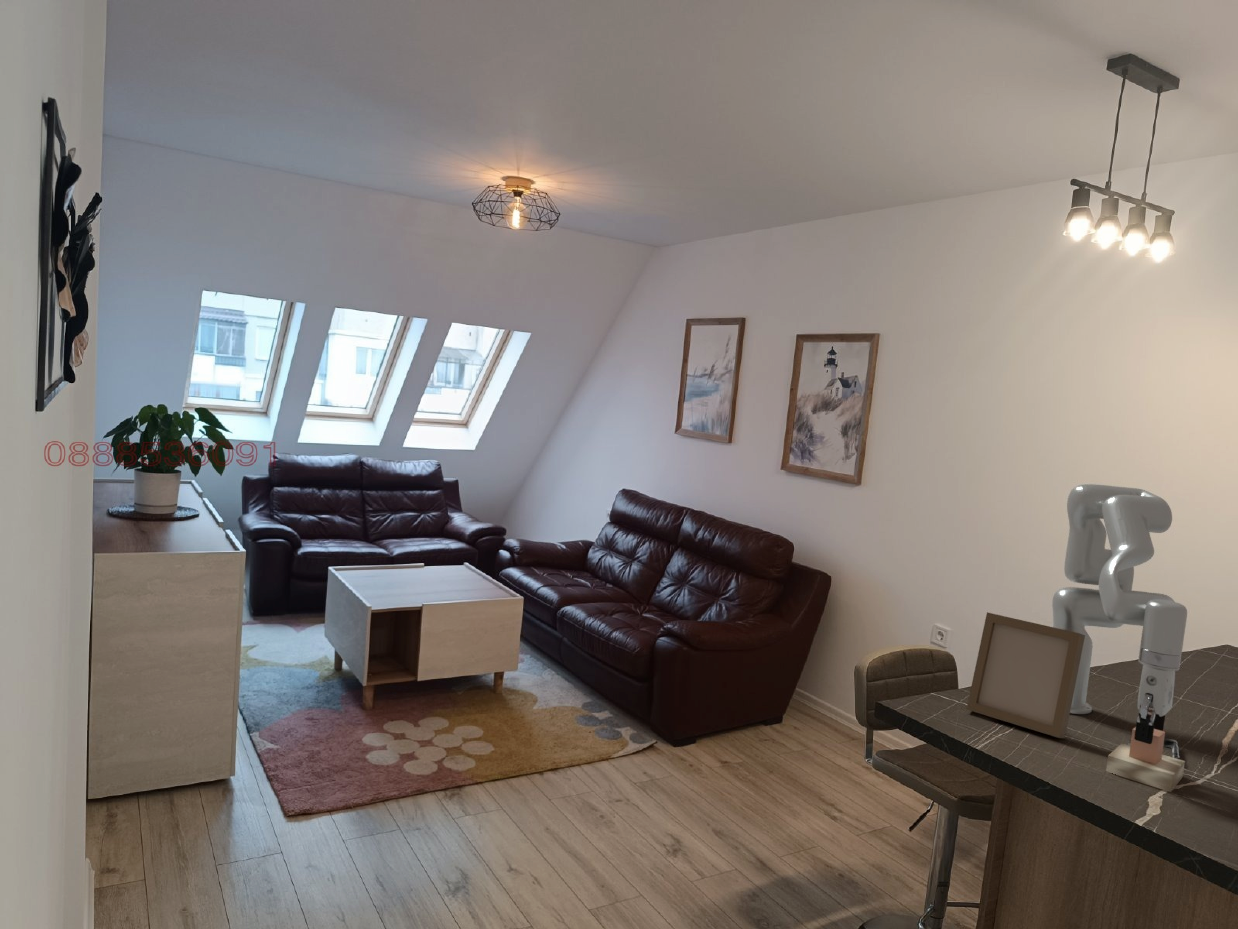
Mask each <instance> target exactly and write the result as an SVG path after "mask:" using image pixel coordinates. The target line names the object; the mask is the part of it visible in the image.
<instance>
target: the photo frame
mask: <svg viewBox="0 0 1238 929" xmlns="http://www.w3.org/2000/svg"><path fill="white" fill-rule="evenodd" d="M1084 639H1085V635H1083V634H1080V633H1076V632H1072V631H1067V630H1063V629H1058V628H1054V627H1053V626H1049V625H1045V624H1040V623H1037V622H1031V621H1027V620H1022V619H1017V618H1014V617H1010V616H1009V617H1008V616H1005V615H1000V614H996V613H991V612H986V615H985V620H984V624H983V629H982V634H981V638H980V645H979V647H978V648H979V649H978V653H977V657H976V663H975V668H974V672H973V677H972V682H971V686H970V691H969V696H968V700H967V706H966V710H968V711H970V712H974V713H977V714H980V715H984V716H987V717H990V718H992V719H993V718H994V719H996V720H1000V721H1002V722H1006V723H1008V724H1009V723H1010V724H1013V725H1016V726H1019V727H1022V728H1025V729H1029V730H1032V731H1035V732H1039V733H1042V734H1045V735H1049V736H1051V737H1054V738H1057V739H1066V734H1067V729H1068V724H1069V723H1068V722H1069V719H1070V715H1071V713H1070V710H1071V704H1072V699H1073V694H1074V689H1075V684H1076V679H1077V674H1078V669H1079V664H1080V659H1081V654H1082V649H1083V644H1084Z"/></svg>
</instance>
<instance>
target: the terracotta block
mask: <svg viewBox="0 0 1238 929" xmlns="http://www.w3.org/2000/svg"><path fill="white" fill-rule="evenodd" d="M1135 729H1136V726H1135V727H1133V728H1132V729H1131V730H1132V731H1131V737H1130V738H1131V739H1130V740H1131V745H1130V753H1129V757H1132V758H1136V759H1139V760H1142V761H1145V762H1149V763H1152V764H1155V765H1156V764H1157V763H1158V762H1159V761H1160V760H1161V759H1162V754H1163V751H1164V746H1163V745H1164V738H1165V737H1166V731H1164V730H1163V731H1160V730H1157V729H1154V733H1153V740H1152V743H1151V744H1147V743H1144V742H1141V741H1137V740H1135V739H1134V737H1135Z"/></svg>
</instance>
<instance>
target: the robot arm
mask: <svg viewBox="0 0 1238 929" xmlns="http://www.w3.org/2000/svg"><path fill="white" fill-rule="evenodd" d="M1066 511H1067V517H1068V518H1067V519H1068V523H1069V524H1068V525H1069V532H1068V538H1067V546H1066V551H1065V560H1064V575H1065V577H1066V578H1067V580H1069V581H1071V582H1073V583H1077V584H1084V585H1092V586H1098V589H1093V588H1085V587H1075V586H1073V587H1072V586H1067V587H1062V588H1059V589H1058V590H1056V591H1055V593H1054V594H1053V596H1052V604H1051V605H1052V606H1051V607H1052V617H1053V618H1052V623H1053V624H1052V627H1054V628H1058V629H1063V630H1067V631H1072V632H1076V633H1080V634H1083V635H1085V639H1084V644H1083V649H1082V654H1081V659H1080V664H1079V669H1078V674H1077V679H1076V684H1075V689H1074V694H1073V699H1072V704H1071V710H1070V714H1074V715H1088V714H1090V713H1091V712H1092V710H1093V707H1092V706H1091V705H1090V703H1088V702H1087V694H1088V687H1089V678H1090V672H1091V671H1090V670H1091V664H1092V663H1091V662H1092V655H1093V639H1092V638H1091V637H1090V634H1088V632H1087V630H1086V628H1085V627H1097V628H1100V627H1101V628H1110V629H1118V628H1120V627H1122V626H1123V625H1131V626H1138V627H1139V626H1140V627H1142V632H1141V639H1140V646H1139V651H1138V652H1139V653H1138V654H1139V655H1138V659H1137V660H1138V663H1139V664H1141V665H1142V670H1141V674H1140V675H1141V677H1140V681H1139V688H1138V695H1137V706H1136V708H1137V709H1138V714H1137V715H1138V716H1137V718H1136V722H1135V727H1136V729H1135V737H1134V739H1135V740H1137V741H1141V742H1144V743H1147V744H1151V743H1152V740H1153V733H1154V729H1157V730H1160V731H1164V727H1165V719H1166V714H1168V713H1169V712H1170V710H1172V707H1173V701H1174V691H1175V690H1174V689H1175V679H1176V672H1178V671H1179V670H1180V668H1181V662H1182V653H1183V646H1184V639H1185V632H1186V625H1187V617H1188V610H1187V607H1186V605H1184V604H1182V603H1179V602H1177V601H1175V600H1174V599H1173V598H1172V597H1171V596H1170V595H1167V594H1164V593H1158V592H1157V593H1156V592H1147V591H1141V590H1140V591H1139V590H1132V589H1133V583H1134V578H1135V577H1134V576H1135V567H1137V566H1141V565H1143V564H1145V563H1147V562H1149V561H1150V560H1151V559H1152V558H1153V557H1154V555H1155V548H1154V545H1153V541H1152V538H1151V534H1150V533H1154V534H1162V533H1165V532H1167V531H1168V530H1169V529H1170V527H1171V526H1172V522H1173V513H1172V509H1171V507H1170V505H1169V503H1168V502H1167V501H1166V500H1165V498H1162V497H1161V496H1158V495H1157V494H1154V493H1151V492H1150V491H1148V490H1145V489H1141V488H1137V487H1136V488H1135V487H1125V486H1115V485H1107V484H1096V483H1094V484H1092V483H1088V484H1079V485H1076V486H1074V487H1073V488H1072V489H1071V490H1070V492H1069V494H1068V498H1067V503H1066ZM1102 520H1103V521H1104V524H1103V521H1102ZM1106 540H1108V543H1109V547H1110V549H1109V548H1108V549H1107V548H1105V547H1106Z"/></svg>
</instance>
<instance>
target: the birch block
mask: <svg viewBox="0 0 1238 929" xmlns="http://www.w3.org/2000/svg"><path fill="white" fill-rule="evenodd" d="M1129 753H1130V745H1129V743H1125V742H1121V743H1120V744H1119V745H1118V746H1117V747H1116V748H1115V749H1114V750H1112V751H1111V753H1109V754H1108V755H1107V760H1106V762H1107V763H1106V769H1105V772H1106V771H1107V772H1106V773H1109V774H1112V773H1113V774H1112V775H1115V774H1116V775H1115V776H1119V777H1121V778H1125V779H1128V780H1132V781H1134V782H1138V783H1141V784H1144V785H1147V786H1151V787H1153V788H1157V789H1160V790H1163V791H1166V792H1168V793H1169V792H1170V793H1171V792H1172V791H1173V790H1174V789H1175V787H1176V786H1177V785H1178V784H1179V782H1180V781H1181V780H1182V778H1183V777H1184V770H1185V764H1186V761H1185V760H1183V759H1180V758H1178V759H1176V758H1173V756H1170V755H1169V756H1168V755H1165V754H1163V753H1162V759H1161V760H1160V761H1159V762H1158V763H1157V764H1156V765H1155V764H1152V763H1149V762H1145V761H1142V760H1139V759H1136V758H1132V757H1129Z"/></svg>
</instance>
